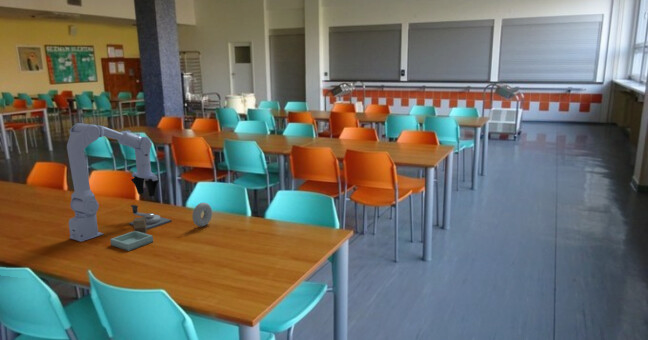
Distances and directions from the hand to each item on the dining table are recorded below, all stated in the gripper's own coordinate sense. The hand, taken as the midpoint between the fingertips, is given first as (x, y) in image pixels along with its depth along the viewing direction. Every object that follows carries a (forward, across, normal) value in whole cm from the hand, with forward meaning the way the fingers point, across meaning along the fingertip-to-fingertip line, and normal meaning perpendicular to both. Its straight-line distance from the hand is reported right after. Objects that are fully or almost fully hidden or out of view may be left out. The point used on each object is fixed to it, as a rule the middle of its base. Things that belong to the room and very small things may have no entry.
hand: (146, 194), depth 210 cm
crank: (+7, -4, +6) cm, 10 cm away
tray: (+10, -22, +24) cm, 34 cm away
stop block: (+10, -15, +15) cm, 24 cm away
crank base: (+10, -8, +5) cm, 14 cm away
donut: (+10, -30, -4) cm, 32 cm away
